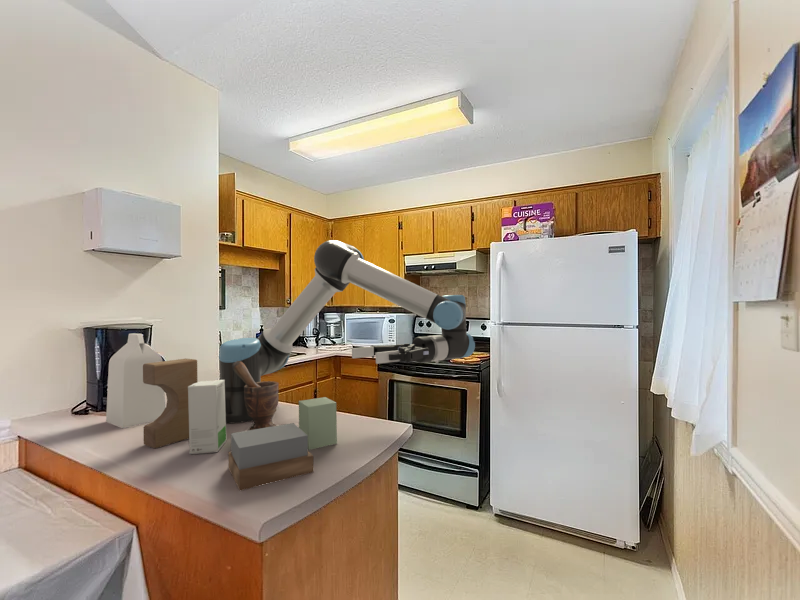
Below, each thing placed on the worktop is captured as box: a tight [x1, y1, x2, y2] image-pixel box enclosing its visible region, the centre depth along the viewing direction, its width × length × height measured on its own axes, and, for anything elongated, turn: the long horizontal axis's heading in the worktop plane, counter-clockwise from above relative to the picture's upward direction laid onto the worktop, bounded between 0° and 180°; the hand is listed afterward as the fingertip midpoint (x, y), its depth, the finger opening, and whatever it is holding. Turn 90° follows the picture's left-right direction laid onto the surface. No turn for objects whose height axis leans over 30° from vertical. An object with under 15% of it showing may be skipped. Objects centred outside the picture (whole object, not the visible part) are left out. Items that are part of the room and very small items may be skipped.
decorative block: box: [142, 358, 199, 449], centre depth 101 cm, size 11×6×20 cm, turn 145°
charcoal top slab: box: [230, 422, 309, 470], centre depth 81 cm, size 10×13×4 cm
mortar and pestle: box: [232, 361, 279, 430], centre depth 103 cm, size 12×9×20 cm
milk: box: [105, 333, 166, 429], centre depth 120 cm, size 12×12×26 cm
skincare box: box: [188, 379, 227, 455], centre depth 95 cm, size 8×7×16 cm
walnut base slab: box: [227, 450, 314, 491], centre depth 81 cm, size 12×14×4 cm
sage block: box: [298, 396, 338, 451], centre depth 97 cm, size 7×7×10 cm
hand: (363, 355), depth 104 cm, fingers open, 13 cm apart
